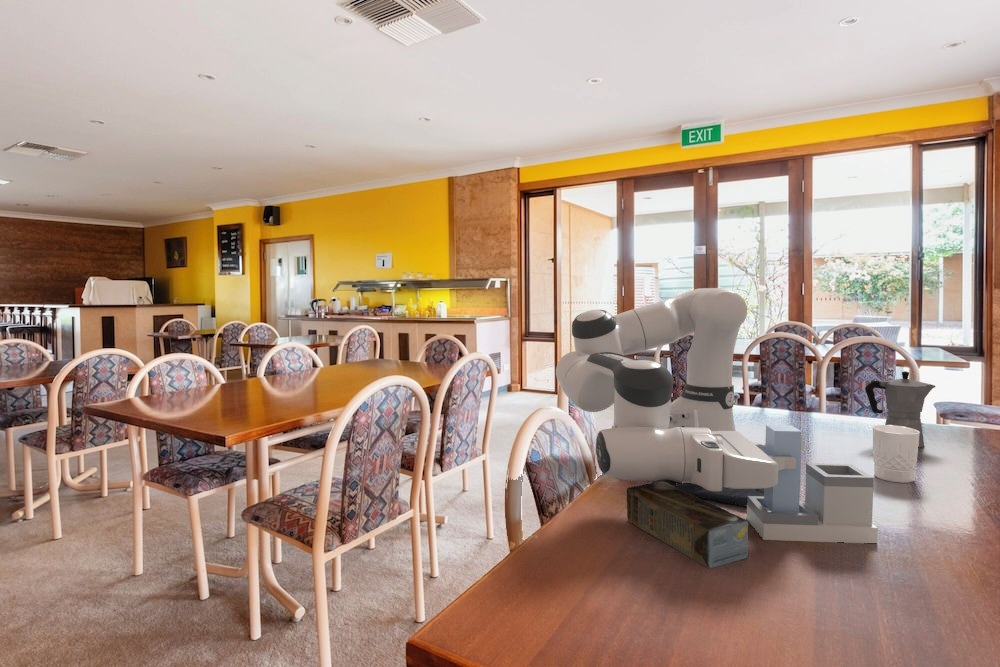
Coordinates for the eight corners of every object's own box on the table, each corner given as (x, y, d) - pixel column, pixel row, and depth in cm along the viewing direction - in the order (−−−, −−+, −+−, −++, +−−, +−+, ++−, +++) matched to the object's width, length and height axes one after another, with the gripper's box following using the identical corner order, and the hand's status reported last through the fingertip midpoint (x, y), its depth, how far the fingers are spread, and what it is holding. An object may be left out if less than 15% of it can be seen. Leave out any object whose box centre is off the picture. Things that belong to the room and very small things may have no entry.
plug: (772, 512, 92) (774, 430, 91) (763, 502, 96) (765, 425, 95) (803, 513, 91) (805, 431, 90) (793, 503, 95) (795, 425, 94)
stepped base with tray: (763, 539, 90) (764, 476, 89) (746, 518, 98) (747, 460, 98) (877, 543, 88) (879, 479, 87) (850, 522, 97) (852, 462, 96)
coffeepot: (922, 439, 148) (925, 369, 147) (942, 449, 139) (946, 374, 138) (855, 437, 151) (858, 368, 150) (871, 446, 142) (874, 373, 141)
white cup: (925, 485, 114) (927, 434, 113) (880, 482, 116) (882, 433, 115) (906, 472, 122) (908, 425, 121) (864, 470, 123) (866, 424, 123)
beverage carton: (707, 571, 81) (708, 525, 80) (623, 522, 98) (623, 484, 98) (749, 560, 84) (750, 515, 84) (661, 514, 101) (661, 477, 101)
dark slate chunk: (751, 518, 100) (752, 491, 100) (641, 487, 116) (641, 464, 116) (787, 496, 110) (787, 471, 110) (681, 470, 126) (682, 449, 126)
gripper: (685, 455, 105) (765, 457, 103) (713, 495, 85) (813, 498, 83) (685, 421, 104) (766, 422, 103) (714, 453, 84) (815, 455, 83)
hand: (788, 457), depth 93 cm, fingers open, 4 cm apart
